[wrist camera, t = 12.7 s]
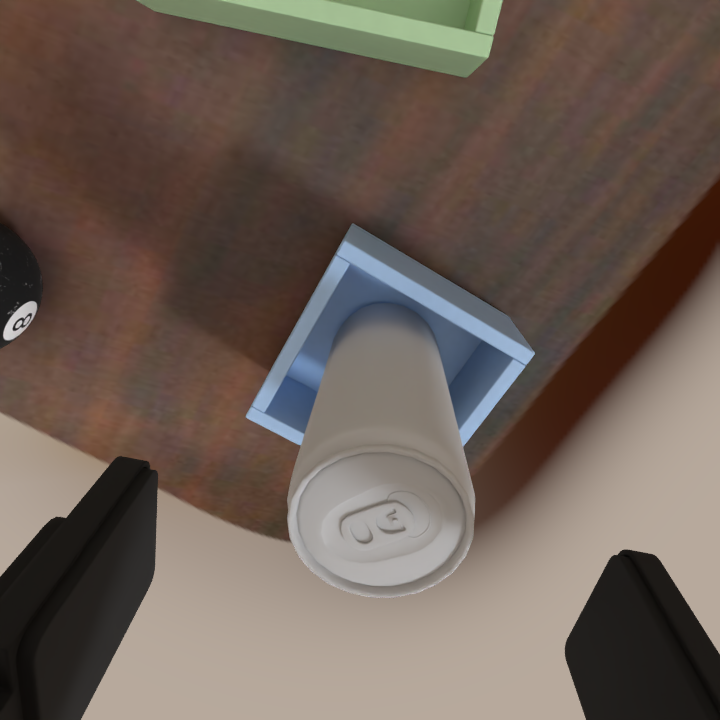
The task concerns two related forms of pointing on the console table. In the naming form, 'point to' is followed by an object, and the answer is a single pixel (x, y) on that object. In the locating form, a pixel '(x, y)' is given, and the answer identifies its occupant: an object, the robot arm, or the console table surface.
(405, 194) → the console table surface
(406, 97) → the console table surface
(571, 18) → the console table surface
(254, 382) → the console table surface
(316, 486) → the beverage can
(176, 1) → the ball bin
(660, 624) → the robot arm
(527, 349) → the bin
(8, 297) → the billiard ball
